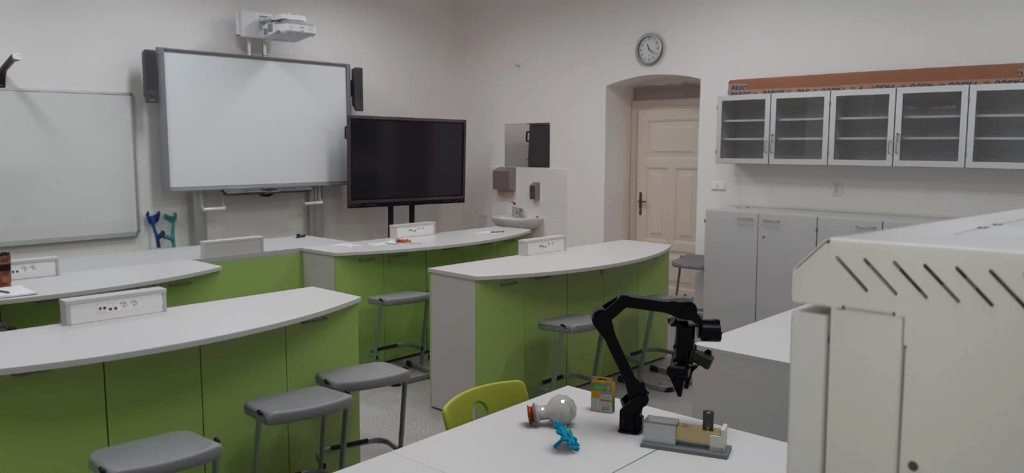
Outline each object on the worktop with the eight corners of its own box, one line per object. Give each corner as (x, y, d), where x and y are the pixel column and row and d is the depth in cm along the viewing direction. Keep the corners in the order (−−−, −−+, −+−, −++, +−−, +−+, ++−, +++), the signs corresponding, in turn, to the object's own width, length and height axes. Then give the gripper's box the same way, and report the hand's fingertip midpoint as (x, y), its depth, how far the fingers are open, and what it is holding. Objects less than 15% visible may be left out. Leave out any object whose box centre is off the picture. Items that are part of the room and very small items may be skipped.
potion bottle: (579, 430, 242) (531, 437, 241) (573, 404, 249) (526, 410, 248) (580, 411, 236) (530, 418, 234) (573, 385, 243) (525, 392, 242)
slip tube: (668, 438, 223) (669, 408, 222) (671, 434, 227) (672, 404, 226) (719, 445, 218) (720, 414, 217) (721, 441, 221) (722, 411, 220)
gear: (576, 451, 215) (553, 422, 218) (561, 464, 216) (537, 435, 219) (586, 443, 226) (563, 415, 228) (571, 456, 227) (548, 428, 229)
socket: (709, 451, 218) (710, 428, 217) (712, 444, 223) (713, 422, 223) (723, 453, 216) (724, 430, 216) (726, 446, 222) (727, 424, 221)
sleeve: (643, 441, 225) (644, 420, 225) (647, 435, 230) (648, 414, 230) (675, 446, 222) (675, 424, 221) (678, 440, 227) (679, 418, 226)
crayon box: (615, 411, 256) (615, 376, 255) (612, 413, 254) (613, 378, 253) (593, 408, 259) (594, 373, 258) (590, 410, 257) (591, 375, 256)
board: (640, 446, 224) (640, 443, 224) (647, 436, 232) (647, 433, 232) (727, 459, 215) (727, 456, 215) (731, 448, 223) (731, 445, 223)
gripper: (706, 350, 223) (704, 404, 224) (718, 337, 240) (716, 388, 241) (667, 346, 227) (665, 399, 229) (681, 334, 244) (679, 383, 246)
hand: (683, 392), depth 236 cm, fingers open, 9 cm apart
